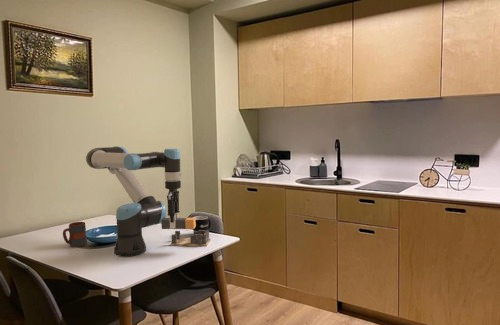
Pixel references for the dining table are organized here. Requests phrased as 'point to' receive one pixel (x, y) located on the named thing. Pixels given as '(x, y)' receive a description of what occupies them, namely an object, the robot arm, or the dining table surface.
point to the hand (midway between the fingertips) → (174, 227)
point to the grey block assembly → (191, 239)
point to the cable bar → (179, 223)
